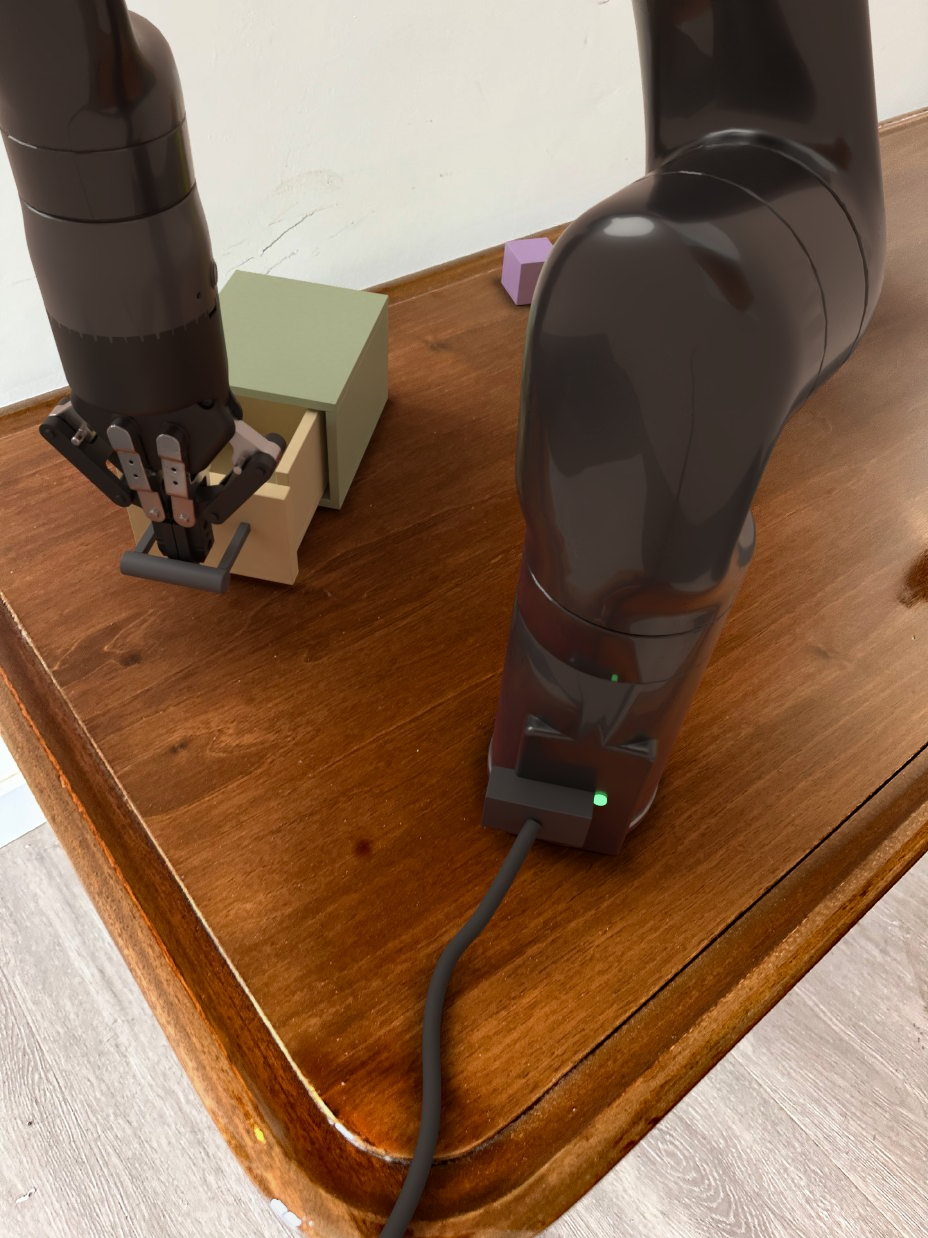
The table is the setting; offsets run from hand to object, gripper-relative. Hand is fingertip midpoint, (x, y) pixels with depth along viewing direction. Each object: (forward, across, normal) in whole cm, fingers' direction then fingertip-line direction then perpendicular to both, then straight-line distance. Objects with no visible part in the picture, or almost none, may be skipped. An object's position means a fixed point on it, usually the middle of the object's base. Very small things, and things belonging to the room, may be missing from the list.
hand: (190, 558), depth 55 cm
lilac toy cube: (+5, +14, +44) cm, 46 cm away
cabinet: (+5, 0, +18) cm, 19 cm away
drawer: (+4, 0, +6) cm, 7 cm away
